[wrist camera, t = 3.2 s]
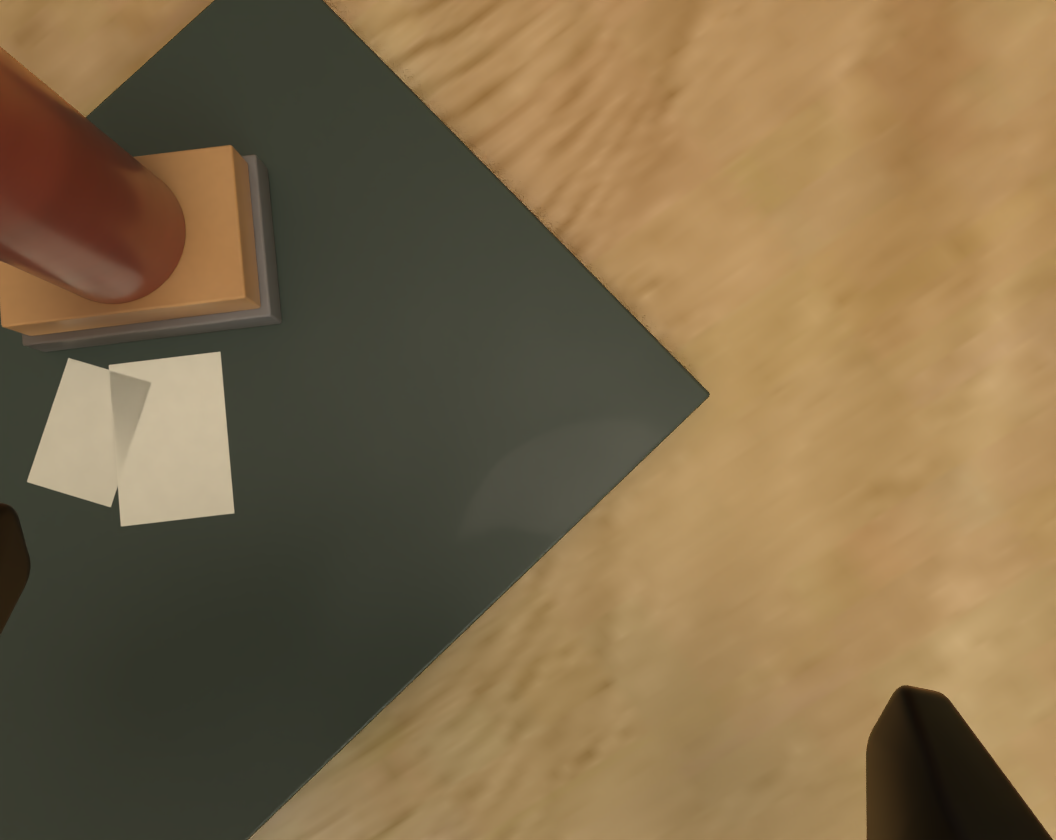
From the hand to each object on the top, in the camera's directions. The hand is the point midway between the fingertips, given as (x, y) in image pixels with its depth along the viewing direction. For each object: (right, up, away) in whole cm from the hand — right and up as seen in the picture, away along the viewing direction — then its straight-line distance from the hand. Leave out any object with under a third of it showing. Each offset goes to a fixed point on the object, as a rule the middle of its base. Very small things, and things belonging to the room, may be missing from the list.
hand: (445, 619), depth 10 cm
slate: (-7, +1, +14) cm, 16 cm away
